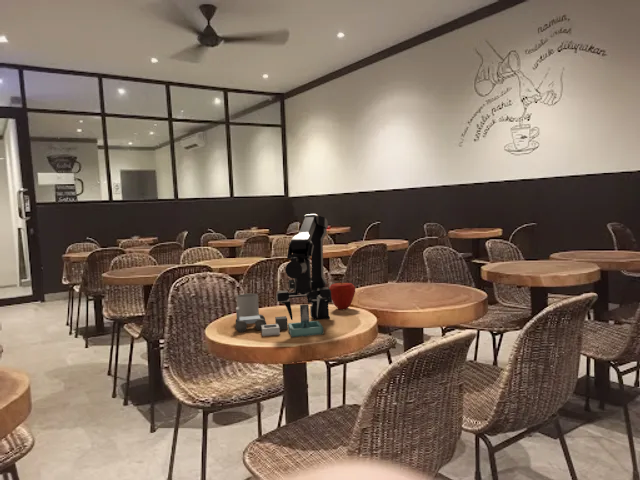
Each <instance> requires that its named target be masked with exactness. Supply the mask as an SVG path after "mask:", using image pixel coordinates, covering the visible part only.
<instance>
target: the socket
mask: <svg viewBox="0 0 640 480" xmlns="http://www.w3.org/2000/svg"><path fill="white" fill-rule="evenodd" d="M280 331H281V330H280V328H279V325H278V324H276V323H273V324H272V323H271V324H266V325H261V336H262V337H268V336H278V335H281V333H280Z"/></svg>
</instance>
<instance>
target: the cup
mask: <svg viewBox="0 0 640 480" xmlns="http://www.w3.org/2000/svg"><path fill="white" fill-rule="evenodd" d="M236 307H239V316H243V317H247V316H257V315H259V314H260V311H259V310H260V309H259V295H258V293H242V294H241V293H240V294H238V295H236Z"/></svg>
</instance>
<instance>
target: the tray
mask: <svg viewBox="0 0 640 480" xmlns="http://www.w3.org/2000/svg"><path fill="white" fill-rule="evenodd" d="M287 324H288V329H287V330H288V333H289V335H290V337H291V338H296V337H297V338H298V337H308V336H309V337H310V336H318V335H319V336H320V335H324V326H323V325H322V323H321V322H320V321H319V320H313V321H310V320H309V324H310V328H301V321H299V322H287Z"/></svg>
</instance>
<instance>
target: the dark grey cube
mask: <svg viewBox="0 0 640 480" xmlns="http://www.w3.org/2000/svg"><path fill="white" fill-rule="evenodd" d="M274 319H275V320H274V321H275V324H278V325H279V328H280V331H281V330H283V331H284V330H288V317H287V316H286V315H285V316H284V315H283V316H275V318H274Z"/></svg>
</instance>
